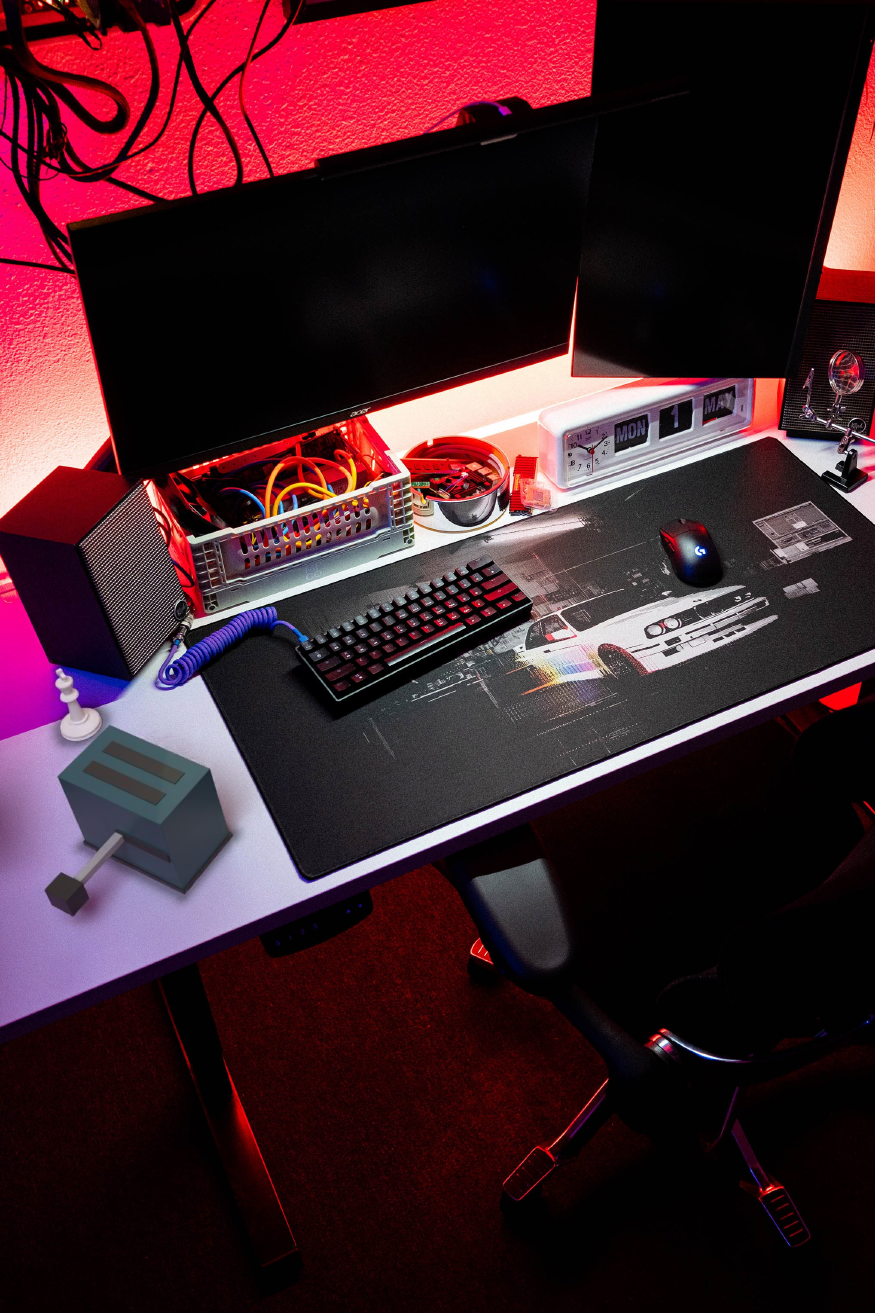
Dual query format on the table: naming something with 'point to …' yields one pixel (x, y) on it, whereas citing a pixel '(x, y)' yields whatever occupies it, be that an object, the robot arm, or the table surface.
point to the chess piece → (76, 712)
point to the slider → (79, 880)
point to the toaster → (147, 807)
